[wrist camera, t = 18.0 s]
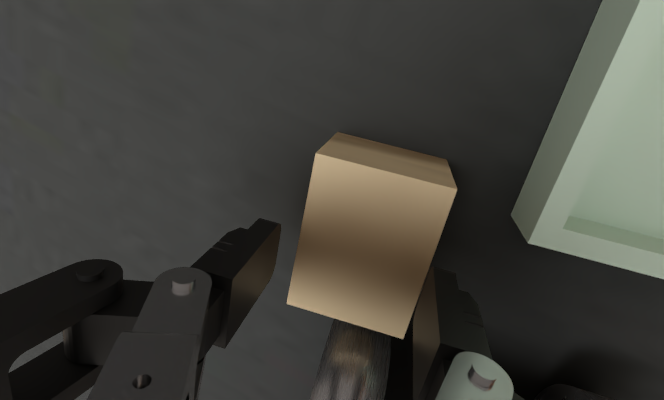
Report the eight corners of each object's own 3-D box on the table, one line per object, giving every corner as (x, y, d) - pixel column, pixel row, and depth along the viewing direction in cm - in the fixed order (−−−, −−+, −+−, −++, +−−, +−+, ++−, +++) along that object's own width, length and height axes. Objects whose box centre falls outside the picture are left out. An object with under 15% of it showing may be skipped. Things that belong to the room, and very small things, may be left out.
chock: (338, 130, 15) (315, 153, 12) (446, 157, 15) (457, 189, 11) (312, 253, 18) (286, 303, 14) (404, 279, 17) (403, 339, 14)
